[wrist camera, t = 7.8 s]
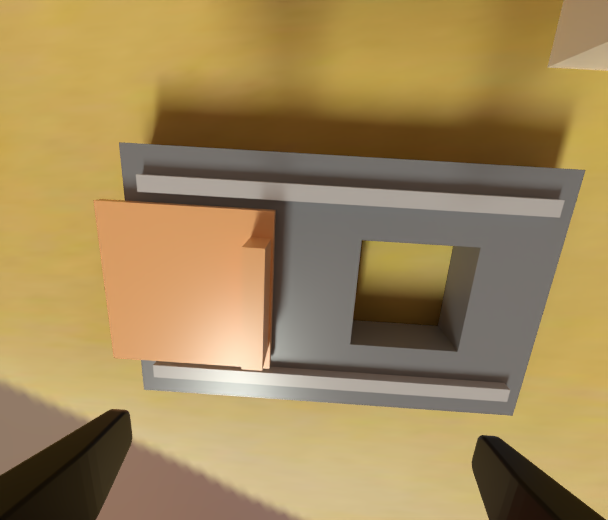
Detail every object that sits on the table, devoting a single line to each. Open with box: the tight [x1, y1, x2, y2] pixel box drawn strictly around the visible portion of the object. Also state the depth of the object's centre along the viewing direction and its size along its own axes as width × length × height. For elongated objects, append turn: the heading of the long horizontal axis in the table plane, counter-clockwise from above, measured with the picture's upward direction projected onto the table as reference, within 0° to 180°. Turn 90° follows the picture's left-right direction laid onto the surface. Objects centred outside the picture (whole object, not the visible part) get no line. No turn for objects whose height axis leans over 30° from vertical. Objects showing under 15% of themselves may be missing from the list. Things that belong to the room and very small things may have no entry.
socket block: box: [119, 143, 585, 416], centre depth 18 cm, size 22×14×4 cm, turn 87°
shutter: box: [94, 199, 276, 371], centre depth 16 cm, size 9×9×3 cm
